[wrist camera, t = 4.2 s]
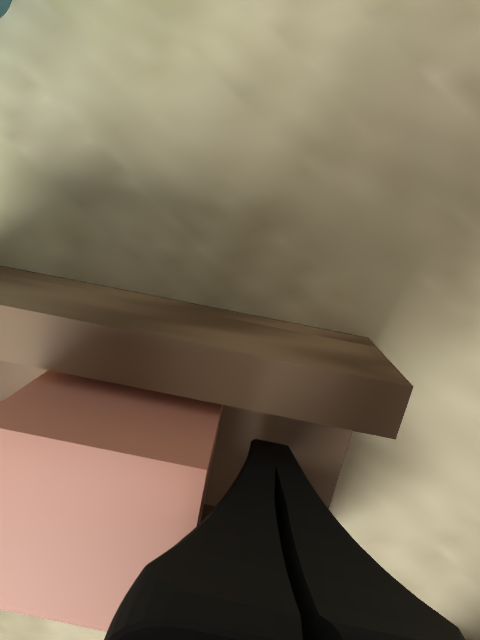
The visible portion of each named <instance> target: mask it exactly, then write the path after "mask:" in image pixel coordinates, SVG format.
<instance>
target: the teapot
mask: <svg viewBox="0 0 480 640" xmlns="http://www.w3.org/2000/svg"><path fill="white" fill-rule="evenodd" d="M11 1H12V0H0V18H1V17H2V16H3V15H4V14H5V13H6V11H7V10H8V8H9V6H10V4H11Z"/></svg>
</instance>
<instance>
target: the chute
mask: <svg viewBox="0 0 480 640" xmlns="http://www.w3.org/2000/svg"><path fill="white" fill-rule="evenodd" d="M48 370H51V371H56V372H61V373H66V374H71V375H76V376H81V377H86V378H91V379H96V380H101V381H106V382H111V383H116V384H121V385H126V386H131V387H136V388H141V389H146V390H151V391H156V392H161V393H166V394H171V395H176V396H181V397H186V398H191V399H196V400H201V401H206V402H211V403H216V404H221V405H223V409H222V414H221V419H220V424H219V429H218V435H217V440H216V445H215V450H214V455H213V461H212V466H211V471H210V476H209V481H208V487H207V492H206V497H205V502H204V506H203V511H202V516H201V520H200V523H201V522H202V521H203V520H204V519H205V517H206V516H207V515H208V514H209V513H210V512H211V511H212V510H213V509H214V508H215V507H216V505H217V504H218V503H219V502H220V500H221V499H222V498H223V497H224V495H225V494H226V493H227V491H228V490H229V488H230V487H231V485H232V484H233V482H234V481H235V479H236V478H237V476H238V474H239V473H240V471H241V469H242V467H243V465H244V463H245V461H246V459H247V456H248V452H249V448H250V443H251V441H252V440H254V439H259V440H264V441H269V442H274V443H279V444H284V445H288V446H289V448H290V449H291V451H292V453H293V454H294V456H295V458H296V460H297V462H298V463H299V465H300V467H301V468H302V470H303V472H304V474H305V475H306V477H307V479H308V480H309V482H310V483H311V485H312V486H313V488H314V489H315V491H316V493H317V494H318V496H319V497H320V498H321V500H322V501H323V503H324V504H325V505H326V507H327V508H328V509H329V506H330V503H331V499H332V496H333V493H334V489H335V486H336V483H337V479H338V476H339V473H340V469H341V466H342V463H343V459H344V456H345V453H346V449H347V446H348V443H349V439H350V436H351V433H352V431H356V432H361V433H366V434H371V435H376V436H381V437H386V438H391V439H396V437H397V434H398V431H399V428H400V425H401V422H402V419H403V416H404V413H405V410H406V407H407V404H408V401H409V398H410V395H411V392H412V389H413V386H412V385H411V383H410V382H409V381H408V380H407V379H406V378H405V377H404V376H403V375H402V374H401V373H400V372H399V370H398V369H397V368H396V367H395V366H394V365H393V364H392V363H391V362H390V361H389V360H388V359H387V358H386V356H385V355H384V354H383V353H382V352H381V351H380V350H379V349H378V348H377V347H376V346H375V345H374V344H373V342H372V341H371V340H370V339H369V338H365V337H360V336H355V335H350V334H345V333H340V332H335V331H330V330H324V329H319V328H314V327H309V326H304V325H299V324H294V323H289V322H284V321H279V320H273V319H268V318H263V317H258V316H253V315H248V314H243V313H238V312H233V311H228V310H222V309H217V308H212V307H207V306H202V305H197V304H192V303H187V302H182V301H177V300H171V299H166V298H161V297H156V296H151V295H146V294H141V293H136V292H131V291H126V290H120V289H115V288H110V287H105V286H100V285H95V284H90V283H85V282H80V281H75V280H70V279H64V278H59V277H54V276H49V275H44V274H39V273H34V272H29V271H24V270H19V269H13V268H8V267H3V266H0V402H2V401H3V400H5V399H6V398H8V397H9V396H11V395H12V394H14V393H15V392H17V391H18V390H20V389H21V388H22V387H24V386H25V385H27V384H28V383H30V382H31V381H33V380H34V379H36V378H37V377H39V376H40V375H42V374H43V373H45V372H46V371H48Z"/></svg>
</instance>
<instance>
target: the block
mask: <svg viewBox="0 0 480 640" xmlns="http://www.w3.org/2000/svg"><path fill="white" fill-rule="evenodd" d="M222 409H223V405H221V404H216V403H211V402H206V401H201V400H196V399H191V398H186V397H181V396H176V395H171V394H166V393H161V392H156V391H151V390H146V389H141V388H136V387H131V386H126V385H121V384H116V383H111V382H106V381H101V380H96V379H91V378H86V377H81V376H76V375H71V374H66V373H61V372H56V371H51V370H48V371H46V372H45V373H43V374H42V375H40V376H39V377H37V378H36V379H34V380H33V381H31V382H30V383H28V384H27V385H25V386H24V387H22V388H21V389H20V390H18V391H17V392H15V393H14V394H12V395H11V396H9V397H8V398H6V399H5V400H3V401H2V402H0V610H5V611H10V612H15V613H20V614H24V615H29V616H34V617H39V618H44V619H48V620H53V621H58V622H63V623H68V624H72V625H77V626H82V627H87V628H92V629H96V630H101V631H106V632H107V631H108V628H109V626H110V623H111V621H112V619H113V617H114V615H115V613H116V611H117V609H118V607H119V606H120V604H121V602H122V600H123V599H124V597H125V595H126V594H127V592H128V591H129V589H130V587H131V586H132V584H133V583H134V581H135V580H136V578H137V577H138V576H139V574H140V573H141V571H142V570H143V568H144V567H145V566H146V565H147V564H148V563H150V562H151V561H153V560H154V559H156V558H157V557H159V556H160V555H162V554H163V553H165V552H166V551H168V550H169V549H170V548H172V547H173V546H174V545H176V544H177V543H178V542H179V541H180V540H182V539H183V538H184V537H185V536H186V535H187V534H189V533H190V532H191V531H192V530H193V529H194V528H195V527H197V526H198V525H199V524H200V520H201V516H202V511H203V506H204V502H205V497H206V492H207V487H208V481H209V476H210V471H211V466H212V461H213V455H214V450H215V445H216V440H217V435H218V429H219V424H220V419H221V414H222Z"/></svg>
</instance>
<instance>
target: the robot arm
mask: <svg viewBox="0 0 480 640" xmlns="http://www.w3.org/2000/svg"><path fill="white" fill-rule="evenodd" d="M104 640H465V639H464V637H463V635H462V634H461V632H460V630H459V628H458V627H456V626H455V625H454V624H452V623H451V622H450V621H448V620H447V619H446V618H444V617H443V616H442V615H440V614H439V613H438V612H436V611H435V610H433V609H432V608H431V607H429V606H428V605H427V604H425V603H424V602H423V601H421V600H420V599H419V598H417V597H416V596H415V595H414V594H412V593H411V592H410V591H409V590H408V589H406V588H405V587H404V586H403V585H402V584H400V583H399V582H398V581H397V580H396V579H394V578H393V577H392V576H391V575H390V574H389V573H388V572H387V571H385V570H384V569H383V568H382V567H381V566H380V565H379V564H378V563H377V562H376V561H375V560H374V559H373V558H372V557H371V556H370V555H369V554H368V553H367V552H366V551H365V550H364V549H362V548H361V546H360V545H359V544H358V543H357V542H356V541H355V540H354V539H353V538H352V537H351V536H350V535H349V533H348V532H347V531H346V530H345V529H344V528H343V527H342V525H341V524H340V523H339V522H338V521H337V520H336V518H335V517H334V516H333V515H332V513H331V512H330V511H329V509H328V508H327V507H326V505H325V504H324V503H323V501H322V500H321V498H320V497H319V496H318V494H317V493H316V491H315V489H314V488H313V486H312V485H311V483H310V482H309V480H308V479H307V477H306V475H305V474H304V472H303V470H302V468H301V467H300V465H299V463H298V462H297V460H296V458H295V456H294V454H293V453H292V451H291V449H290V448H289V446H288V445H284V444H279V443H274V442H269V441H264V440H259V439H254V440H252V441H251V443H250V448H249V452H248V456H247V459H246V461H245V463H244V465H243V467H242V469H241V471H240V473H239V474H238V476H237V478H236V479H235V481H234V482H233V484H232V485H231V487H230V488H229V490H228V491H227V493H226V494H225V495H224V497H223V498H222V499H221V500H220V502H219V503H218V504H217V505H216V507H215V508H214V509H213V510H212V511H211V512H210V513H209V514H208V515H207V516H206V517H205V519H204V520H203V521H202V522H201V523H200V524H199V525H198V526H197V527H195V528H194V529H193V530H192V531H191V532H190V533H189V534H187V535H186V536H185V537H184V538H183V539H182V540H180V541H179V542H178V543H177V544H176V545H174V546H173V547H172V548H170V549H169V550H168V551H166V552H165V553H163V554H162V555H160V556H159V557H157V558H156V559H154V560H153V561H151V562H150V563H148V564H147V565H146V566H145V567H144V568H143V570H142V571H141V573H140V574H139V576H138V577H137V578H136V580H135V581H134V583H133V584H132V586H131V587H130V589H129V591H128V592H127V594H126V595H125V597H124V599H123V600H122V602H121V604H120V606H119V607H118V609H117V611H116V613H115V615H114V617H113V619H112V621H111V623H110V626H109V628H108V631H107V634H106V636H105V639H104Z"/></svg>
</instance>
